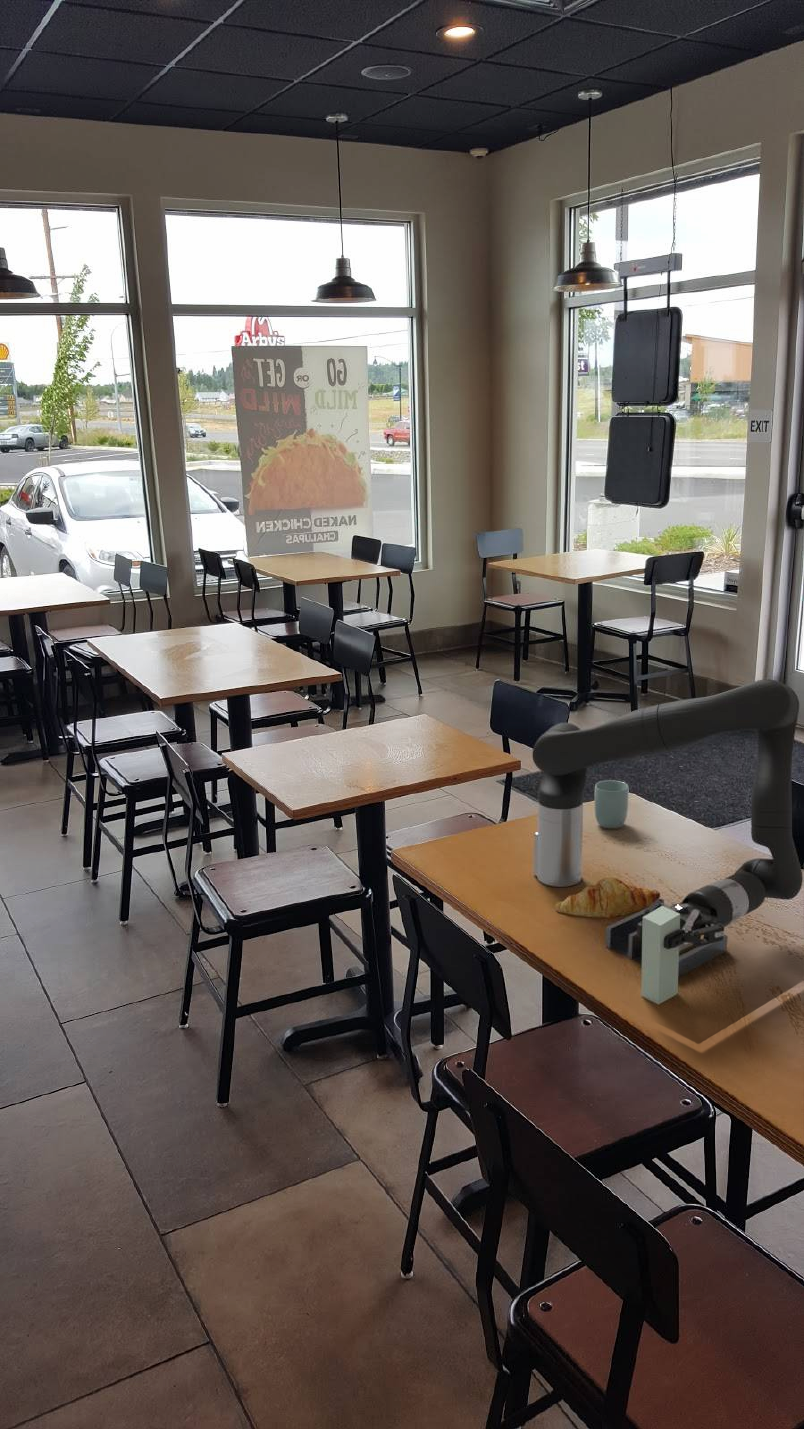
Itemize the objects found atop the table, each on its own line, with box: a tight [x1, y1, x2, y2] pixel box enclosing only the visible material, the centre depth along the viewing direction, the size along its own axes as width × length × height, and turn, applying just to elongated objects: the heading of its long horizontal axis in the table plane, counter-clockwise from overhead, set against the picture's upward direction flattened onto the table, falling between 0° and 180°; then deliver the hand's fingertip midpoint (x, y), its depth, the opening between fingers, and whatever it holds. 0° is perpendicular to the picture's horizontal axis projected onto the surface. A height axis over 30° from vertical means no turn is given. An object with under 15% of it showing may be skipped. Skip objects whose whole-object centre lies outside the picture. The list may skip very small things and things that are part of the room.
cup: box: [594, 779, 630, 830], centre depth 253 cm, size 8×8×10 cm
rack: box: [605, 908, 728, 978], centre depth 195 cm, size 15×15×6 cm
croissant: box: [554, 877, 661, 919], centre depth 212 cm, size 21×10×8 cm, turn 100°
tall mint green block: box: [640, 906, 680, 1005], centre depth 178 cm, size 4×5×16 cm
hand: (652, 937), depth 176 cm, fingers open, 5 cm apart
